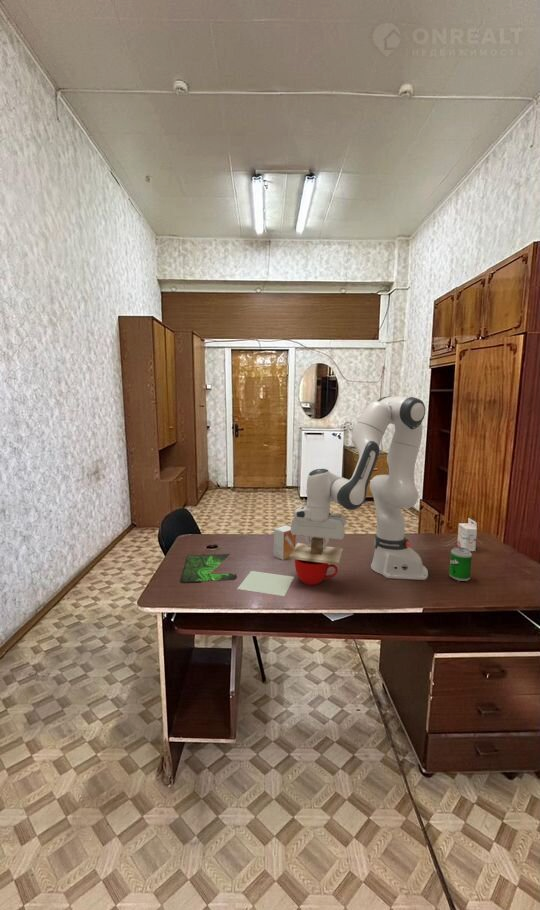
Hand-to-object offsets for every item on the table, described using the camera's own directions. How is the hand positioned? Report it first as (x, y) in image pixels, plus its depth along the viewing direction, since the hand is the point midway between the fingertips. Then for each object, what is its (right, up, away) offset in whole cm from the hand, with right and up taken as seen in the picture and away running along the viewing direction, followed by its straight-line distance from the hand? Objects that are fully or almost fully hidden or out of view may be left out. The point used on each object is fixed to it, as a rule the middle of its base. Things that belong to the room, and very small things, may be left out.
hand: (316, 547), depth 144 cm
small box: (-11, -11, +28) cm, 32 cm away
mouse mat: (-43, -13, +15) cm, 47 cm away
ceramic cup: (0, -14, +2) cm, 15 cm away
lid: (0, -3, 0) cm, 3 cm away
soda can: (+58, -14, +7) cm, 60 cm away
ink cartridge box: (+76, -10, +38) cm, 85 cm away
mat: (-19, -14, +1) cm, 24 cm away
